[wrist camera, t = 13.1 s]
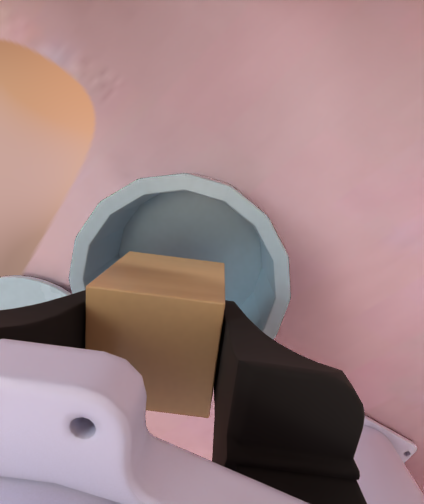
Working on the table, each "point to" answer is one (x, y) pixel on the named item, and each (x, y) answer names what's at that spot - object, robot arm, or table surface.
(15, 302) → the lid
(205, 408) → the block
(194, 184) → the tin
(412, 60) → the table surface
